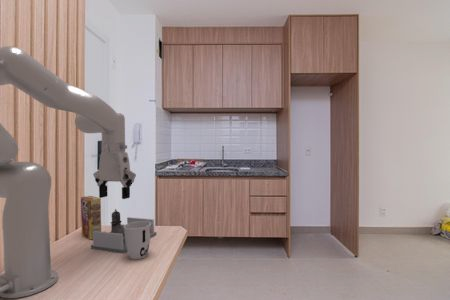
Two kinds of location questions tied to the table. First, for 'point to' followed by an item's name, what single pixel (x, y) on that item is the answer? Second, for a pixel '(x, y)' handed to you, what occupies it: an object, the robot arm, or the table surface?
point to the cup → (137, 238)
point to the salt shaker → (116, 224)
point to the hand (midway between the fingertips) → (114, 197)
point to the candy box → (90, 215)
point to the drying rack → (116, 238)
